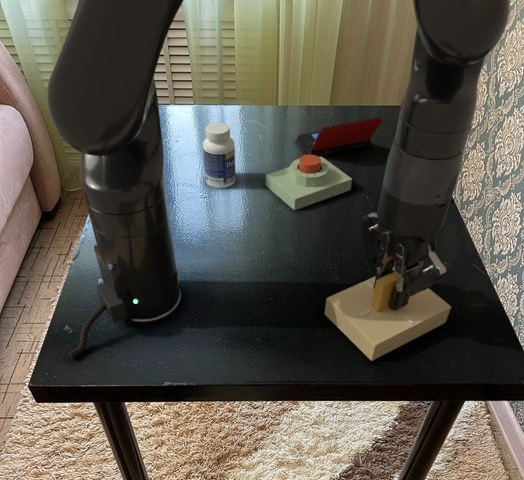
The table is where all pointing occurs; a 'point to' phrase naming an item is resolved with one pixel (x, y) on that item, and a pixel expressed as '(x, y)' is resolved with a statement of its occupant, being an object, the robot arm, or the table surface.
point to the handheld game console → (340, 137)
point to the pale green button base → (307, 184)
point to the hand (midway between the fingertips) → (389, 300)
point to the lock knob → (383, 291)
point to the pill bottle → (219, 156)
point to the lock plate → (384, 318)
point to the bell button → (309, 164)
